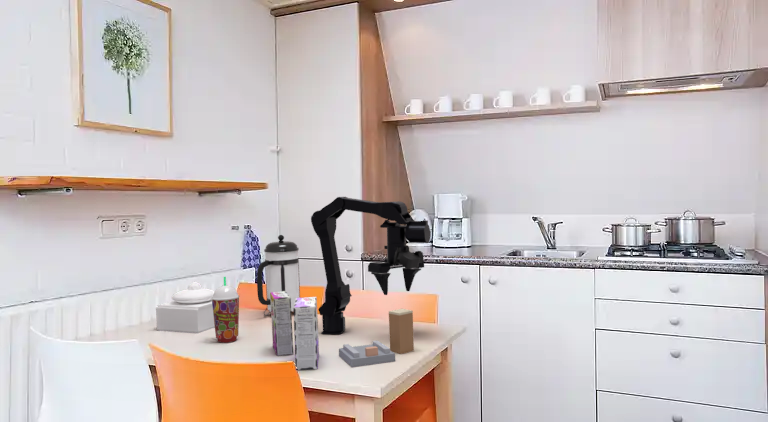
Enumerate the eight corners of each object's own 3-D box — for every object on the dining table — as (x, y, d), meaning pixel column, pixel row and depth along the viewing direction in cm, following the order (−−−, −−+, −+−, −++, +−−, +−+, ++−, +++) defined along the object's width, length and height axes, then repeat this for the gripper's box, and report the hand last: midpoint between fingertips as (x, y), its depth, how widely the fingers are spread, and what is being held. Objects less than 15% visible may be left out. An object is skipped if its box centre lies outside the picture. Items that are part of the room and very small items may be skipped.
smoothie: (216, 345, 179) (213, 279, 179) (210, 339, 187) (208, 276, 186) (244, 341, 183) (241, 277, 183) (237, 336, 191) (234, 274, 190)
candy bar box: (271, 347, 175) (269, 292, 174) (288, 345, 176) (286, 290, 176) (275, 356, 164) (273, 298, 164) (293, 354, 166) (291, 296, 165)
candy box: (298, 356, 164) (295, 297, 164) (319, 355, 165) (317, 296, 164) (294, 370, 150) (292, 306, 150) (318, 369, 151) (315, 305, 150)
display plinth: (339, 355, 163) (338, 341, 163) (380, 350, 167) (379, 336, 167) (351, 367, 152) (351, 351, 152) (395, 361, 156) (394, 346, 156)
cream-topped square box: (390, 351, 166) (388, 311, 165) (403, 347, 169) (402, 308, 169) (400, 354, 162) (399, 313, 162) (413, 350, 166) (412, 310, 165)
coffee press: (262, 311, 230) (259, 234, 230) (304, 309, 232) (301, 232, 231) (258, 320, 213) (255, 237, 212) (303, 318, 215) (300, 235, 214)
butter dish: (156, 331, 203) (154, 284, 203) (192, 320, 220) (190, 277, 219) (198, 334, 196) (196, 286, 196) (231, 322, 213) (229, 278, 213)
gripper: (391, 246, 169) (391, 300, 170) (436, 241, 182) (437, 292, 182) (366, 244, 178) (367, 295, 178) (411, 239, 190) (412, 288, 191)
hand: (397, 293), depth 182 cm, fingers open, 9 cm apart
